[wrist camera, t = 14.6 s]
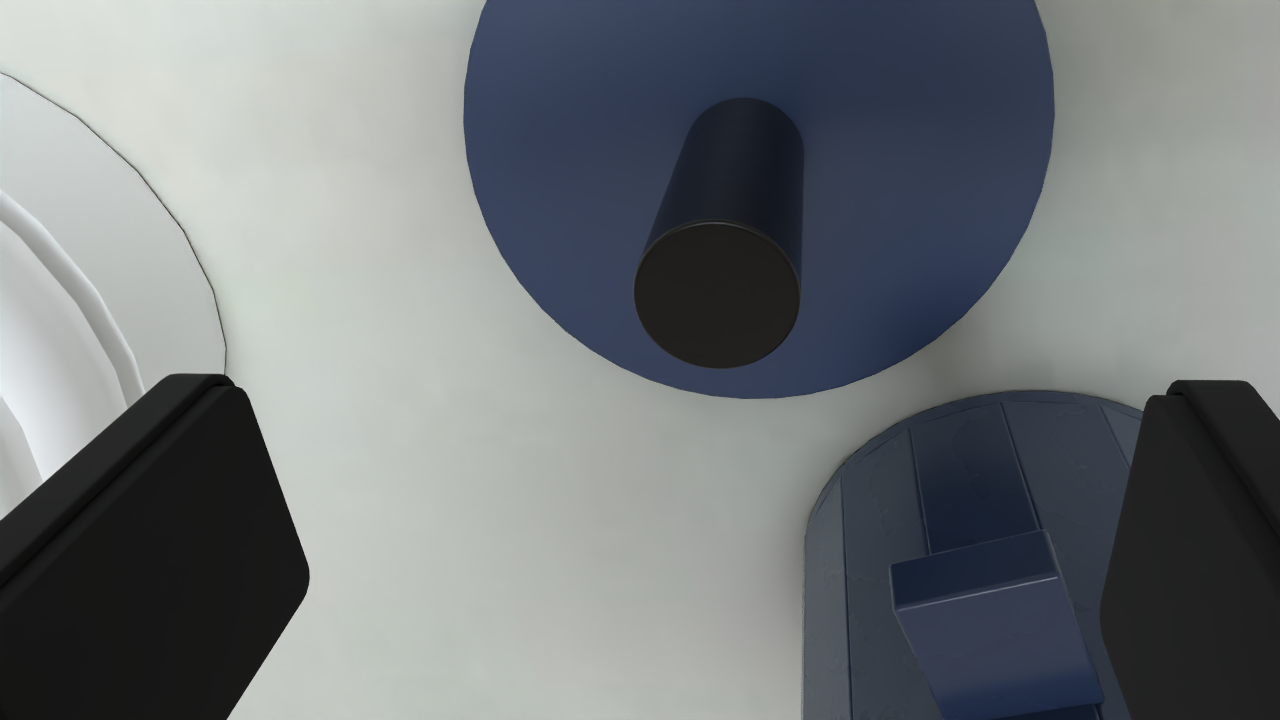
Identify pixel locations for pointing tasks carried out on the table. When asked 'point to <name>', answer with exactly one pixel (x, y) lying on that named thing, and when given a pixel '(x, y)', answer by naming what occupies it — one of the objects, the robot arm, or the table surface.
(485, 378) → the table surface
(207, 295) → the honey pot
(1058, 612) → the pot
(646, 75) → the lid
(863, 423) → the table surface
